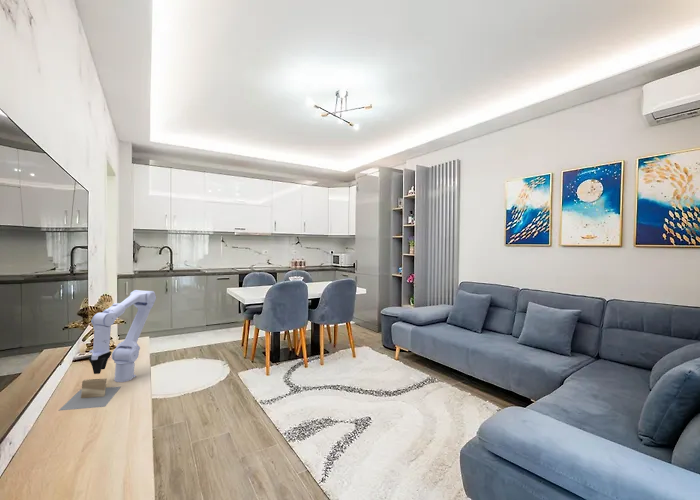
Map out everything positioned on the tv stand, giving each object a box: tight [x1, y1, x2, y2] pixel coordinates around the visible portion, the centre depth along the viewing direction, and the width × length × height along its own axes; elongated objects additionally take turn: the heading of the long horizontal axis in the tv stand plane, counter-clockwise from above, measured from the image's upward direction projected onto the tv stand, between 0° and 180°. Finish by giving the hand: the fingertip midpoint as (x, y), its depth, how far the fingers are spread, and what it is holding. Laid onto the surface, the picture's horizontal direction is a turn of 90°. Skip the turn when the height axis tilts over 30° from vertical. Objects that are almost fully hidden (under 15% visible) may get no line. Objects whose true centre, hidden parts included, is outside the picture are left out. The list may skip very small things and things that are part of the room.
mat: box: [58, 386, 121, 411], centre depth 137 cm, size 20×15×1 cm
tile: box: [81, 378, 107, 398], centre depth 138 cm, size 2×8×7 cm, turn 110°
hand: (99, 371), depth 143 cm, fingers open, 5 cm apart
